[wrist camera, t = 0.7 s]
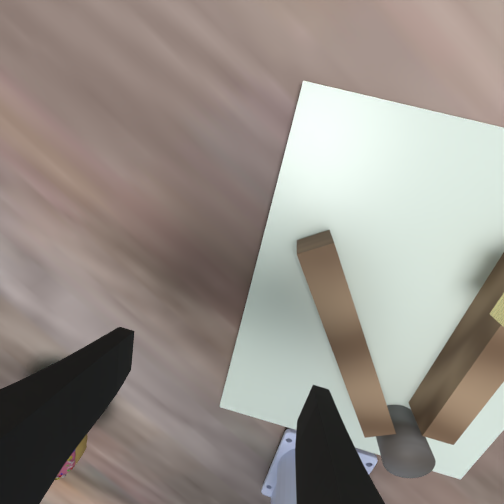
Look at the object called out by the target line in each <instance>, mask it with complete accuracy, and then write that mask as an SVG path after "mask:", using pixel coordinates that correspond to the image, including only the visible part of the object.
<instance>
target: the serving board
mask: <svg viewBox="0 0 504 504" xmlns="http://www.w3.org/2000/svg"><path fill="white" fill-rule="evenodd" d="M327 230H330V233H331V235H332V238H333V241H334V244H335V247H336V250H337V253H338V256H339V259H340V262H341V265H342V268H343V272H344V275H345V278H346V281H347V284H348V287H349V290H350V293H351V296H352V299H353V302H354V305H355V309H356V312H357V315H358V318H359V321H360V324H361V327H362V330H363V333H364V336H365V339H366V343H367V346H368V349H369V352H370V355H371V358H372V361H373V364H374V367H375V370H376V373H377V377H378V380H379V383H380V386H381V389H382V392H383V395H384V398H385V401H386V404H387V405H402V406H405V407H408V408H409V409H411V408H410V405H409V401H410V400H411V398H412V396H413V395H414V393H415V392H416V390H417V388H418V387H419V385H420V384H421V382H422V381H423V379H424V377H425V376H426V374H427V373H428V371H429V370H430V368H431V366H432V365H433V363H434V362H435V360H436V358H437V357H438V355H439V354H440V352H441V351H442V349H443V347H444V346H445V344H446V343H447V341H448V339H449V338H450V336H451V335H452V333H453V332H454V330H455V328H456V327H457V325H458V324H459V322H460V321H461V319H462V317H463V316H464V314H465V313H466V311H467V309H468V308H469V306H470V305H471V303H472V302H473V300H474V298H475V297H476V295H477V294H478V292H479V290H480V289H481V287H482V286H483V284H484V283H485V281H486V279H487V278H488V276H489V275H490V273H491V272H492V270H493V268H494V267H495V265H496V264H497V262H498V260H499V259H500V257H501V256H502V254H503V253H504V128H503V127H498V126H494V125H490V124H486V123H481V122H477V121H473V120H469V119H464V118H460V117H456V116H452V115H447V114H443V113H439V112H435V111H430V110H426V109H422V108H417V107H413V106H409V105H405V104H400V103H396V102H392V101H388V100H383V99H379V98H375V97H371V96H366V95H362V94H358V93H354V92H349V91H345V90H341V89H337V88H332V87H328V86H324V85H320V84H315V83H311V82H307V81H303V84H302V88H301V92H300V96H299V100H298V103H297V107H296V111H295V115H294V119H293V123H292V127H291V131H290V135H289V138H288V142H287V146H286V150H285V154H284V158H283V162H282V166H281V169H280V173H279V177H278V181H277V185H276V189H275V193H274V197H273V201H272V204H271V208H270V212H269V216H268V220H267V224H266V228H265V232H264V236H263V239H262V243H261V247H260V251H259V255H258V259H257V263H256V267H255V270H254V274H253V278H252V282H251V286H250V290H249V294H248V298H247V302H246V305H245V309H244V313H243V317H242V321H241V325H240V329H239V333H238V336H237V340H236V344H235V348H234V352H233V356H232V360H231V364H230V368H229V371H228V375H227V379H226V383H225V387H224V391H223V395H222V399H221V403H220V406H219V407H222V408H225V409H228V410H232V411H235V412H238V413H242V414H245V415H248V416H251V417H255V418H258V419H261V420H265V421H268V422H271V423H275V424H278V425H281V426H285V427H288V428H291V429H295V430H297V420H298V418H299V415H300V413H301V411H302V408H303V406H304V404H305V402H306V399H307V397H308V395H309V393H310V390H311V388H312V386H313V385H316V386H319V387H323V388H326V389H329V391H330V393H331V395H332V397H333V400H334V402H335V404H336V407H337V409H338V412H339V414H340V416H341V418H342V421H343V423H344V425H345V427H346V430H347V432H348V434H349V436H350V438H351V440H352V442H353V444H354V446H355V448H358V449H361V450H364V451H368V452H371V453H374V454H378V455H381V454H380V450H379V447H378V443H377V439H376V436H375V437H367V438H365V437H364V434H363V432H362V429H361V426H360V424H359V421H358V418H357V415H356V413H355V410H354V407H353V405H352V402H351V399H350V397H349V394H348V391H347V389H346V386H345V383H344V381H343V378H342V375H341V372H340V370H339V367H338V364H337V362H336V359H335V356H334V354H333V351H332V348H331V346H330V343H329V340H328V337H327V335H326V332H325V329H324V327H323V324H322V321H321V319H320V316H319V313H318V311H317V308H316V305H315V303H314V300H313V297H312V294H311V292H310V289H309V286H308V284H307V281H306V278H305V276H304V273H303V270H302V268H301V265H300V262H299V259H298V257H297V240H299V239H302V238H305V237H308V236H312V235H315V234H318V233H321V232H324V231H327ZM503 430H504V382H503V383H502V384H501V386H500V387H499V388H498V390H497V391H496V392H495V393H494V395H493V396H492V397H491V398H490V400H489V401H488V402H487V403H486V405H485V406H484V407H483V409H482V410H481V411H480V412H479V414H478V415H477V416H476V417H475V419H474V420H473V421H472V422H471V424H470V425H469V426H468V428H467V429H466V430H465V431H464V433H463V434H462V435H461V436H460V438H459V439H458V440H457V441H456V443H455V444H454V445H451V444H448V443H444V442H441V441H438V440H434V439H431V438H427V437H426V439H427V441H428V444H429V446H430V448H431V451H432V453H433V455H434V458H435V461H436V463H435V467H434V469H433V470H432V471H434V472H438V473H441V474H444V475H448V476H451V477H454V478H458V479H461V478H462V477H463V476H464V475H465V474H466V472H467V471H468V470H469V469H470V468H471V467H472V466H473V464H474V463H475V462H476V461H477V460H478V459H479V458H480V456H481V455H482V454H483V453H484V452H485V451H486V449H487V448H488V447H489V446H490V445H491V444H492V443H493V441H494V440H495V439H496V438H497V437H498V436H499V435H500V433H501V432H502V431H503Z"/></svg>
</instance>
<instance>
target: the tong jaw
mask: <svg viewBox="0 0 504 504" xmlns="http://www.w3.org/2000/svg"><path fill="white" fill-rule="evenodd" d="M297 257H298V259H299V262H300V265H301V268H302V270H303V273H304V276H305V278H306V281H307V284H308V286H309V289H310V292H311V294H312V297H313V300H314V303H315V305H316V308H317V311H318V313H319V316H320V319H321V321H322V324H323V327H324V329H325V332H326V335H327V337H328V340H329V343H330V346H331V348H332V351H333V354H334V356H335V359H336V362H337V364H338V367H339V370H340V372H341V375H342V378H343V381H344V383H345V386H346V389H347V391H348V394H349V397H350V399H351V402H352V405H353V407H354V410H355V413H356V415H357V418H358V421H359V424H360V426H361V429H362V432H363V434H364V437H365V438H367V437H375V436H383V435H391V434H396V432H395V429H394V426H393V423H392V420H391V417H390V414H389V410H388V407H387V404H386V401H385V398H384V395H383V392H382V389H381V386H380V383H379V380H378V377H377V373H376V370H375V367H374V364H373V361H372V358H371V355H370V352H369V349H368V346H367V343H366V339H365V336H364V333H363V330H362V327H361V324H360V321H359V318H358V315H357V312H356V309H355V305H354V302H353V299H352V296H351V293H350V290H349V287H348V284H347V281H346V278H345V275H344V272H343V268H342V265H341V262H340V259H339V256H338V253H337V250H336V247H335V244H334V241H333V238H332V235H331V233H330V230H327V231H324V232H321V233H318V234H315V235H312V236H308V237H305V238H302V239H299V240H297Z"/></svg>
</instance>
